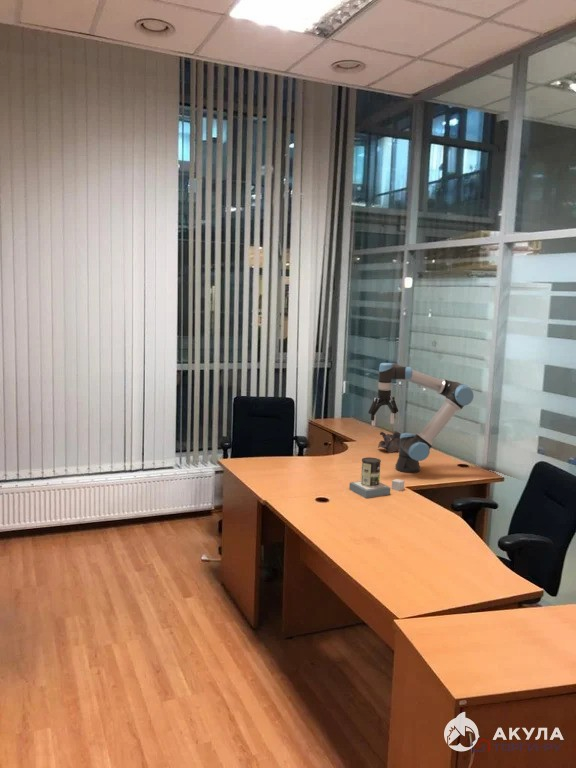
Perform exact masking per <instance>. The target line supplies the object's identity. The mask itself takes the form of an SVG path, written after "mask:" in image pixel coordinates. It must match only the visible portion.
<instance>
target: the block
mask: <svg viewBox="0 0 576 768" xmlns="http://www.w3.org/2000/svg"><path fill="white" fill-rule="evenodd" d="M391 490H394V491H397V492H401V491H404V490H405V480H404V479H399V478H396V479H395V478H394V479H393V480H391Z"/></svg>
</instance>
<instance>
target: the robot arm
mask: <svg viewBox="0 0 576 768" xmlns="http://www.w3.org/2000/svg"><path fill="white" fill-rule="evenodd" d="M378 368H379V369H378V390H377V396H378V397H377V398H376V397H373V401H372V403H371V405H370V408H369V410H368V414H369V415H370V420H371V426H373V427H376V422H377V421H376V419H377V418H376V417H377V415H376V414H377V412H378V411H379V409H380V408H381V407H382V406H387V407H388V408H389V410H390V411H391V412H390V421H389V423H390V424H391V425H395V419H396V414H397V413H398V412H399V409H398V406H397V403H396V397H394V396H392V383H393V382H392V380H404V381H406V382H409V383H411V384H415V385H418V386H421V387H424V388H426V389H429V390H432V391H434V392H437V394H438V395H441V396H443V397H444V403H443V404H442V405H441V407H440V408H439V409H438V410H437V412H436V413H435V414H434V415H433V417H432V418H431V419H430V420H429V422H428V423H427V424H426V425H425V427H424V428H423V429H422V431H421V432H419V433H416V432H415V433H414V432H412V433H411V432H402V433H400V434H401V435H400V445H399V449H398V458H397V460H396V463H395V466H394V467H395V470H396V471H398V472H401V473H402V472H403V473H407V474H409V473H410V474H412V473H413V474H414V473H418V472H421V471H420V470H421V466H420V462H421V461H424V460H425V461H426V459H427V458H429V456H430V450H431V448H432V447H433V441H435V439H436V438H437V437H438V436H439V434H440V433H441V432H442V431H443V429H444V428H445V427H446V425H447V424H448V423H449V421H450V420H452V417H454V415H455V414H456V413H457V411H462V410H463V408H464V407H466V406H467V405H470V404H472V402H473V400H474V391H473V389H472V388H471V387H470V386H468V385H467V384H464V383H460V382H458V381H454V380H447V379H446V378H445V379H444V378H442V379H440V378H437V377H434V376H431V375H429V374H426V373H423V372H420V371H417V370H415V369H412V367H411V366H403V365H400V364H398V363H391V362H381V363H380V364H379V367H378Z"/></svg>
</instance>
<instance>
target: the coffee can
mask: <svg viewBox="0 0 576 768" xmlns="http://www.w3.org/2000/svg"><path fill="white" fill-rule="evenodd" d="M381 462H382V461H381V459H380V458H376V457H371V456H370V457H363V458H361V477H360V481H361V485H362V486H365V487H378V486H379V482H380V480H381V479H380V478H381V477H380V476H381Z"/></svg>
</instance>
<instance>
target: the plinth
mask: <svg viewBox="0 0 576 768" xmlns="http://www.w3.org/2000/svg"><path fill="white" fill-rule="evenodd" d="M348 490H350V491H352V492H354V493H355V494H357V495H358V496H360V497H363V498H364V499H371V498H377V496H378V497H383V495H384V496H388V495H389V496H390V495H391V486H388V485H386V484H384V483H382V482H380V481H379V486H378V487H365V486H362V485H361V480H359V481H358V480H357V481H350V482H349V488H348Z"/></svg>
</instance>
